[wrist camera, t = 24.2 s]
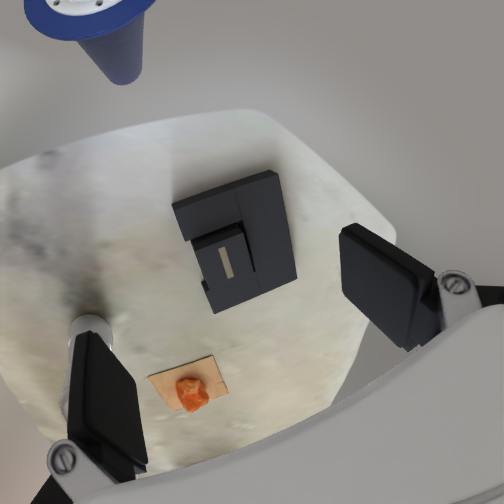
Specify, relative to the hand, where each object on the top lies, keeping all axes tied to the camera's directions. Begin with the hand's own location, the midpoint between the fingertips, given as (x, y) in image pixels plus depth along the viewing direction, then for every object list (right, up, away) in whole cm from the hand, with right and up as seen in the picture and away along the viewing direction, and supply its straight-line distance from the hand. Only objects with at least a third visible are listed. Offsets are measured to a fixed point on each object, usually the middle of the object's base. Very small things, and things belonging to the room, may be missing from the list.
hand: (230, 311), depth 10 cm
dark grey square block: (-4, +2, +29) cm, 29 cm away
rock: (-11, -22, +39) cm, 46 cm away
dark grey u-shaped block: (-1, +3, +29) cm, 30 cm away
